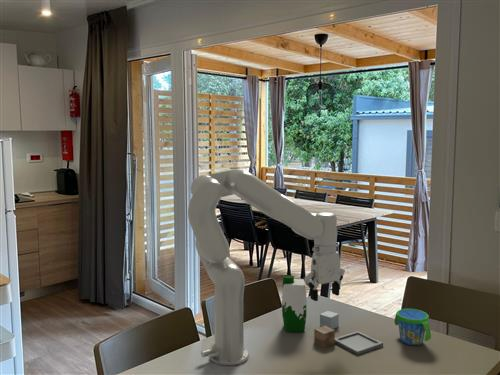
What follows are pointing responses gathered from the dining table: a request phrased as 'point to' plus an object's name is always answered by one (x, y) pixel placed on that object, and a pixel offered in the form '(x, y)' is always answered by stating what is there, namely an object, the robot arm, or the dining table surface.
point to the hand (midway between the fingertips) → (324, 297)
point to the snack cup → (413, 326)
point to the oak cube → (324, 336)
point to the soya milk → (293, 304)
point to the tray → (358, 342)
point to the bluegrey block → (329, 319)
